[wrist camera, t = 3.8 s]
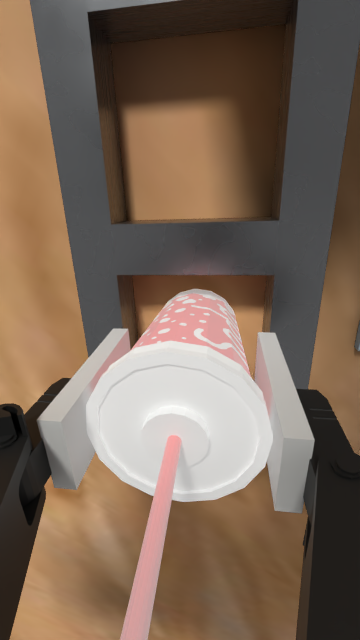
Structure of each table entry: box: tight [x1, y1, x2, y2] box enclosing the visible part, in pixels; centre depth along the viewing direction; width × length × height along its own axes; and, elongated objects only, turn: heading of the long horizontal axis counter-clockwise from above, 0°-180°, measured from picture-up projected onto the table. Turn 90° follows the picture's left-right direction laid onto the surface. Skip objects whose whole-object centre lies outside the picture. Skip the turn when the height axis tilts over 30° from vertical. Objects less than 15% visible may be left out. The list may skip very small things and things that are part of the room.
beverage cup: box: [86, 289, 273, 640], centre depth 12 cm, size 6×6×14 cm
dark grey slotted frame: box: [30, 0, 360, 389], centre depth 15 cm, size 20×12×2 cm, turn 2°
